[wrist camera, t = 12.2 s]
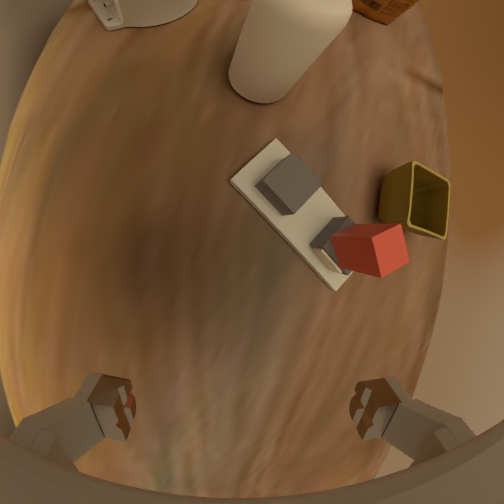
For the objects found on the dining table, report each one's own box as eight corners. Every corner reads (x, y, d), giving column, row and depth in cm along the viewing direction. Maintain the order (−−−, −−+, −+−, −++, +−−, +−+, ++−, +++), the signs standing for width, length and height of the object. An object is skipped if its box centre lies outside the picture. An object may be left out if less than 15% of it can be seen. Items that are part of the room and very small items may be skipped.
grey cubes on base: (228, 181, 34) (236, 172, 29) (272, 141, 35) (286, 127, 29) (330, 289, 38) (351, 298, 33) (365, 248, 39) (388, 251, 34)
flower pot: (412, 187, 41) (451, 181, 32) (406, 238, 41) (446, 240, 32) (372, 170, 39) (412, 158, 30) (365, 226, 39) (407, 225, 30)
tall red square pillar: (339, 267, 32) (381, 277, 24) (330, 235, 31) (371, 237, 24) (365, 255, 33) (409, 261, 25) (357, 224, 32) (400, 223, 24)
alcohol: (292, 66, 35) (414, -72, 5) (283, 113, 35) (441, -34, 6) (235, 49, 32) (310, -121, 3) (220, 96, 33) (302, -106, 4)
